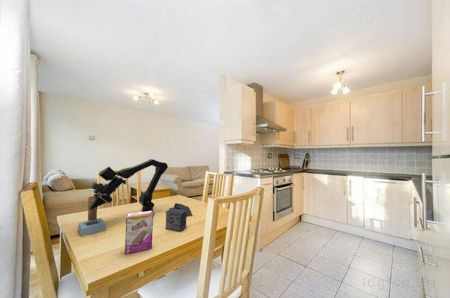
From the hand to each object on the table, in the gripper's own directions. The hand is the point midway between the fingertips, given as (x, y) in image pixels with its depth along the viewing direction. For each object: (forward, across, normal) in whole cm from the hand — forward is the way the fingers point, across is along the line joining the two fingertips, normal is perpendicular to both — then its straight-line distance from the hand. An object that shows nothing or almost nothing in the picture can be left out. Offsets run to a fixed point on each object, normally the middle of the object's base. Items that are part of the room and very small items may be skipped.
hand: (89, 208), depth 97 cm
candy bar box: (+1, +38, +17) cm, 42 cm away
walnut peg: (+4, 0, +6) cm, 7 cm away
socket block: (+8, 0, +10) cm, 13 cm away
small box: (-16, +32, +34) cm, 49 cm away
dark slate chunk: (-28, +10, +47) cm, 56 cm away
